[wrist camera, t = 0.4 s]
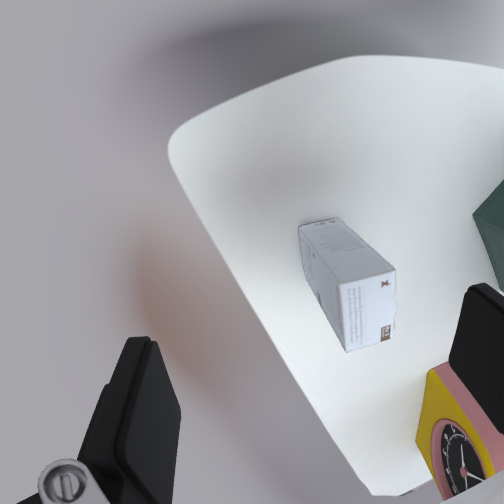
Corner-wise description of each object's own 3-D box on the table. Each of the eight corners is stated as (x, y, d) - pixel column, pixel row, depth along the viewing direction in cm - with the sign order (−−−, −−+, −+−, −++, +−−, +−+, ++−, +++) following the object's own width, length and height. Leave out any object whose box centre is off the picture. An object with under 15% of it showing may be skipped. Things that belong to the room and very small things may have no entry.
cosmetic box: (296, 225, 31) (333, 282, 20) (340, 216, 31) (397, 265, 19) (305, 282, 33) (340, 356, 22) (347, 272, 33) (396, 339, 22)
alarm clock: (427, 370, 40) (514, 509, 15) (474, 348, 40) (567, 465, 15) (414, 443, 48) (464, 549, 23) (454, 424, 47) (509, 522, 23)
